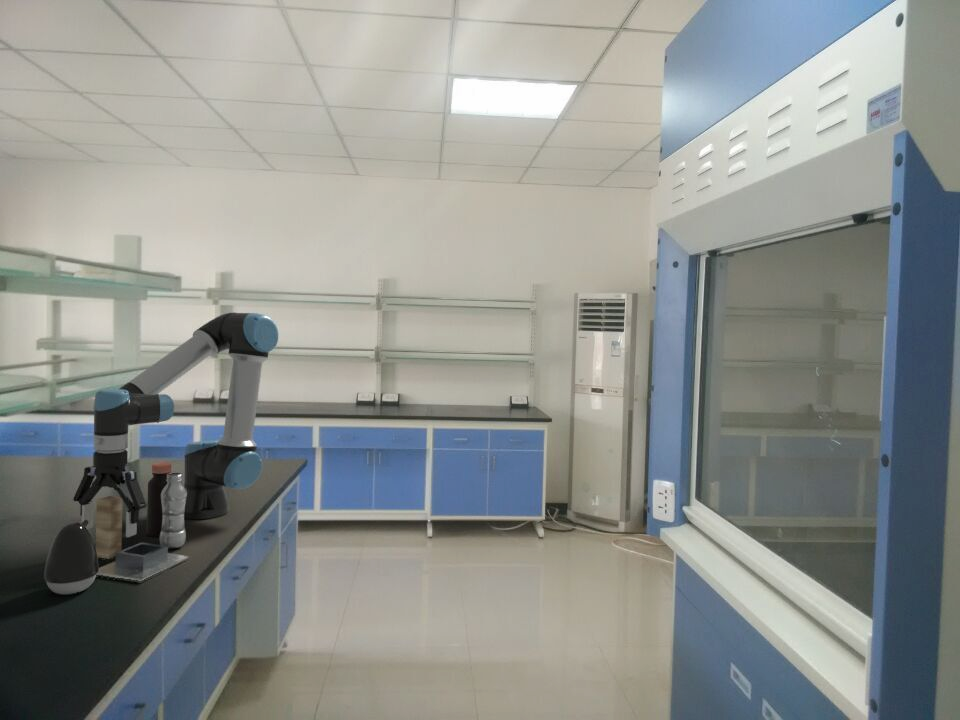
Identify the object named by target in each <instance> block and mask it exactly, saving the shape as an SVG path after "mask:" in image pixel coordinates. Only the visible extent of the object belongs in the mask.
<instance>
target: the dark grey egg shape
mask: <svg viewBox="0 0 960 720" xmlns="http://www.w3.org/2000/svg"><path fill="white" fill-rule="evenodd" d="M88 523H89V521H88V520H84V521H83V522H82V521H81V522H69V523H67V524H64V526H62V527H61V528H60V529H59V530H58V532H57V533H56V535H55V537H54V539H53V541H52V542H51V545H50V549H49V551H48V553H47V554H48V555H47V557H46V561H45V566H44V573H43V580H45V582H46V585H47V586H48V589H49V590H51V592H53V593H55V594H59V595H64V596H65V595H74V594H78V593H80V592H82V591H85V590H86V589H89V587H90V586H91V585H92V584H93V583H94V581H95V579H96V577H97V576H96V574H97V573H98V571H99V568H100V567H99V565H100V564H99V558H98V557H97V552H96V544H95V542H94V540H93V537H92V535H91V533H90V531H89V529H87V528H86V526H87V524H88ZM77 592H78V593H77Z"/></svg>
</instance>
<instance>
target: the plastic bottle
mask: <svg viewBox="0 0 960 720" xmlns="http://www.w3.org/2000/svg"><path fill="white" fill-rule="evenodd" d="M166 481H167V482H168V483H167V485H166V486H165V487H164V489H163V490H162V493H161V502H162V514H163V515H162V516H163V519H162V528H161V533H160V536H159V545H162V546H168V550H169V549H170V550H171V549H178V548H180V547H182V546H183V545H184V544H185V543H186V540H187V539H186V538H187V532H186V528H185V518H184V511H185V503H186V498H187V491H186V489H185V487H184V483H182V481H183V474H182V473H181V472H171V473H169V474H167V480H166Z"/></svg>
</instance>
